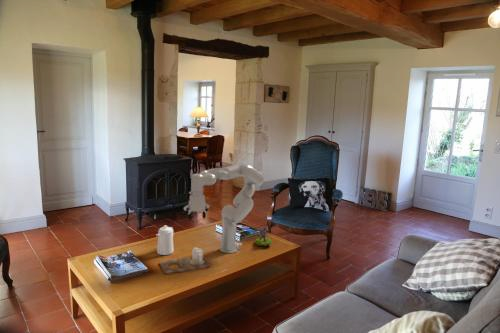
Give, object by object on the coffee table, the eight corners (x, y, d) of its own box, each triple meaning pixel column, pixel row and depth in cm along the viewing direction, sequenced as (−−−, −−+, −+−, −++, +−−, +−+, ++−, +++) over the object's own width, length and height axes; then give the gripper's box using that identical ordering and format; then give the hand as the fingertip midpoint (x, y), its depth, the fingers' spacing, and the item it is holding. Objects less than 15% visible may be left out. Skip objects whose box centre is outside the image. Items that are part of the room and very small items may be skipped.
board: (202, 256, 237) (202, 255, 237) (210, 267, 223) (210, 265, 223) (159, 263, 225) (159, 261, 225) (165, 274, 211) (165, 272, 211)
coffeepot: (148, 259, 230) (148, 231, 227) (165, 244, 254) (165, 219, 251) (164, 261, 228) (164, 233, 225) (179, 246, 252) (180, 220, 249)
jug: (190, 259, 230) (190, 248, 228) (200, 258, 233) (200, 246, 231) (195, 266, 220) (195, 254, 219) (205, 264, 223) (206, 253, 222)
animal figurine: (250, 244, 263) (251, 224, 260) (262, 240, 271) (263, 221, 269) (263, 250, 253) (264, 229, 250) (276, 246, 261) (277, 226, 259)
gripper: (185, 195, 222) (185, 222, 225) (211, 193, 229) (211, 219, 232) (182, 192, 228) (181, 218, 231) (207, 190, 236) (207, 215, 239)
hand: (196, 218), depth 232 cm, fingers open, 9 cm apart
